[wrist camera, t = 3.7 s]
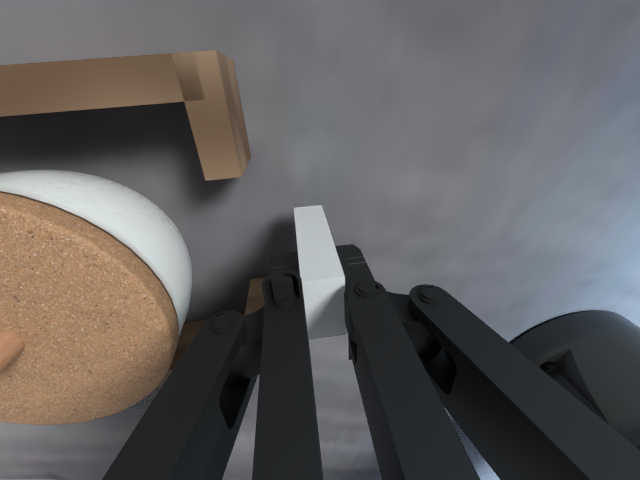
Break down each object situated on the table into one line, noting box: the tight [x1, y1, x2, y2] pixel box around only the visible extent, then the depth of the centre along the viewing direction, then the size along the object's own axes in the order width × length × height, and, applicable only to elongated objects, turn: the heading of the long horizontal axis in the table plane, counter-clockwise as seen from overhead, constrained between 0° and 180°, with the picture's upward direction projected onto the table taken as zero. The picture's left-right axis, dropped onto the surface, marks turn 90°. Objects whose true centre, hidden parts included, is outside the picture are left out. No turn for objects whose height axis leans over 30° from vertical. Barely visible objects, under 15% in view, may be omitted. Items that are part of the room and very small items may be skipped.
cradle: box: [0, 50, 265, 389], centre depth 15 cm, size 17×16×4 cm
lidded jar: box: [0, 170, 192, 425], centre depth 13 cm, size 11×11×9 cm
